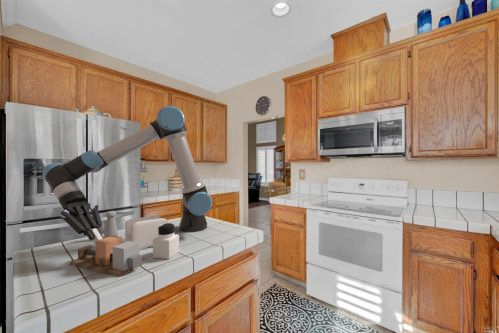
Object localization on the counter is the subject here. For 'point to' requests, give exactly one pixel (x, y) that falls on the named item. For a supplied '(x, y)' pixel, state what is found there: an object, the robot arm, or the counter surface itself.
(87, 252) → the dark grey rod
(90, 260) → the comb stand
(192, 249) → the counter surface
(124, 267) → the block
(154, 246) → the medicine bottle
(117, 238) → the sleeve
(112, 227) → the salt shaker
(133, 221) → the cable organizer
